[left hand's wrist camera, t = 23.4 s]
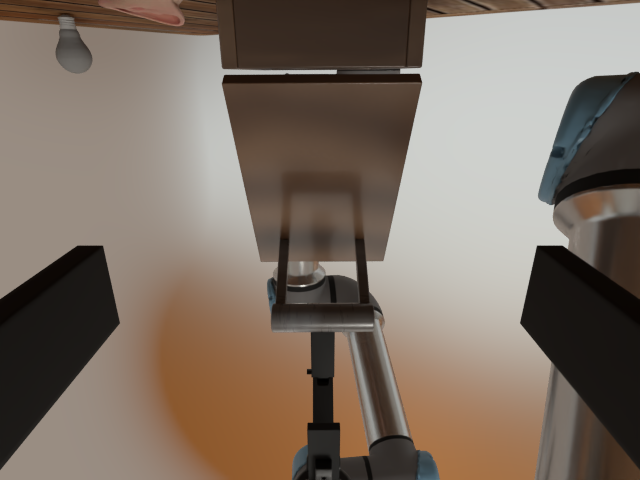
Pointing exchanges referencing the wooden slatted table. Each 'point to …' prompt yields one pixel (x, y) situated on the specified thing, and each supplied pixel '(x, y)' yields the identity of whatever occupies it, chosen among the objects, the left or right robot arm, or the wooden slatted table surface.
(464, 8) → the wooden slatted table surface
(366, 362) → the right robot arm
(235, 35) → the chest
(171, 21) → the anatomical model
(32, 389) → the left robot arm
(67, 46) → the light bulb
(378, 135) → the lid
